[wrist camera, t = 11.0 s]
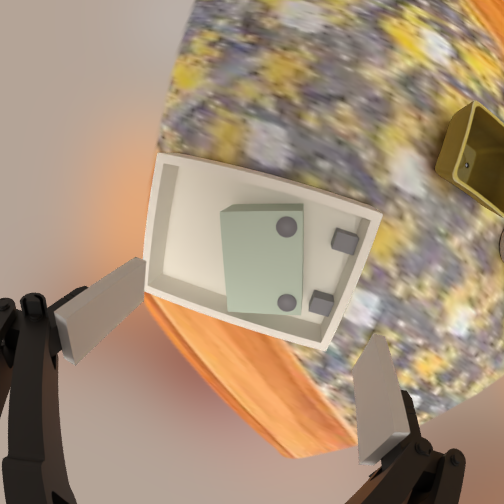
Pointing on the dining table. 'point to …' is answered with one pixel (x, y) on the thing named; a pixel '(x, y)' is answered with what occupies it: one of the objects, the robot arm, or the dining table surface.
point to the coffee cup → (502, 246)
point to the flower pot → (475, 156)
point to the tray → (211, 255)
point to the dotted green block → (263, 257)
